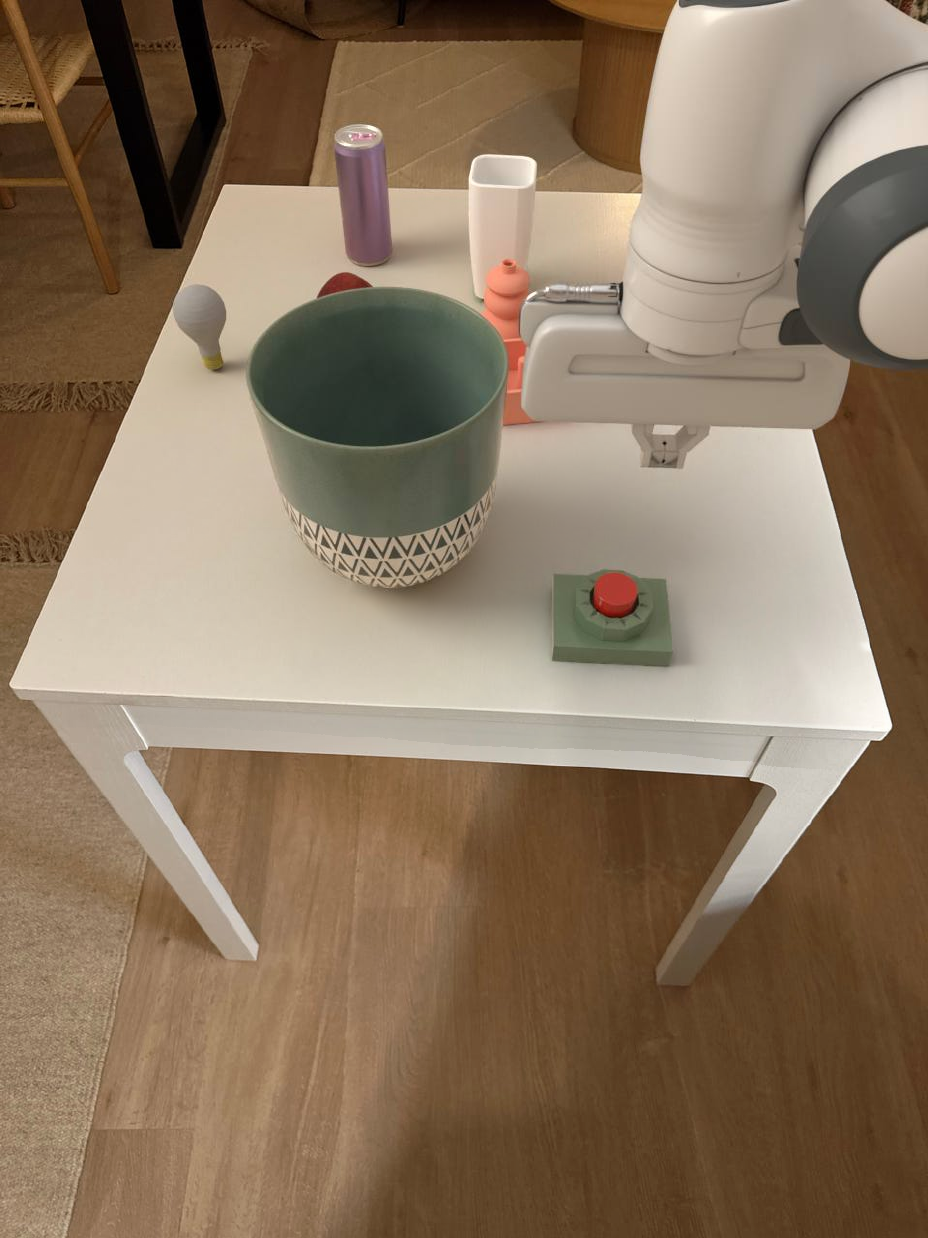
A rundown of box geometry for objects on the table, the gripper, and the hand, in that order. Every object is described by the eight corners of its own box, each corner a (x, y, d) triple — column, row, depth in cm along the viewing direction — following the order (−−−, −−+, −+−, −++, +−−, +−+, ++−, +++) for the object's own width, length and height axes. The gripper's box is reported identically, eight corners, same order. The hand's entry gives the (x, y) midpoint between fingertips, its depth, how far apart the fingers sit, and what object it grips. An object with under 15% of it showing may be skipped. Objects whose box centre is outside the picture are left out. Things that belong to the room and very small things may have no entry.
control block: (661, 594, 81) (669, 565, 78) (668, 666, 77) (677, 639, 73) (551, 589, 82) (555, 560, 79) (551, 661, 77) (555, 633, 74)
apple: (394, 347, 104) (389, 285, 97) (331, 365, 102) (322, 303, 95) (370, 313, 108) (364, 251, 102) (309, 330, 106) (299, 268, 100)
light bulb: (186, 359, 102) (163, 279, 95) (233, 348, 104) (214, 269, 96) (195, 387, 99) (171, 308, 91) (243, 376, 101) (224, 297, 93)
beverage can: (390, 268, 114) (382, 147, 102) (344, 267, 114) (330, 146, 102) (394, 243, 117) (386, 123, 106) (348, 242, 118) (335, 122, 106)
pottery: (573, 418, 96) (582, 339, 88) (486, 426, 95) (488, 348, 88) (540, 320, 107) (546, 242, 99) (462, 327, 106) (461, 249, 98)
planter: (279, 635, 79) (228, 451, 62) (300, 478, 91) (262, 287, 74) (505, 631, 79) (516, 446, 62) (495, 475, 91) (502, 284, 74)
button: (633, 586, 77) (636, 572, 76) (635, 618, 75) (639, 606, 74) (591, 583, 78) (594, 570, 76) (592, 616, 75) (595, 603, 74)
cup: (530, 276, 113) (538, 155, 101) (526, 309, 108) (534, 188, 97) (472, 272, 113) (473, 152, 101) (466, 306, 109) (467, 184, 97)
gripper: (518, 313, 51) (512, 488, 62) (885, 322, 50) (812, 498, 61) (521, 252, 55) (514, 428, 66) (862, 259, 54) (797, 436, 65)
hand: (660, 462), depth 63 cm, fingers closed
